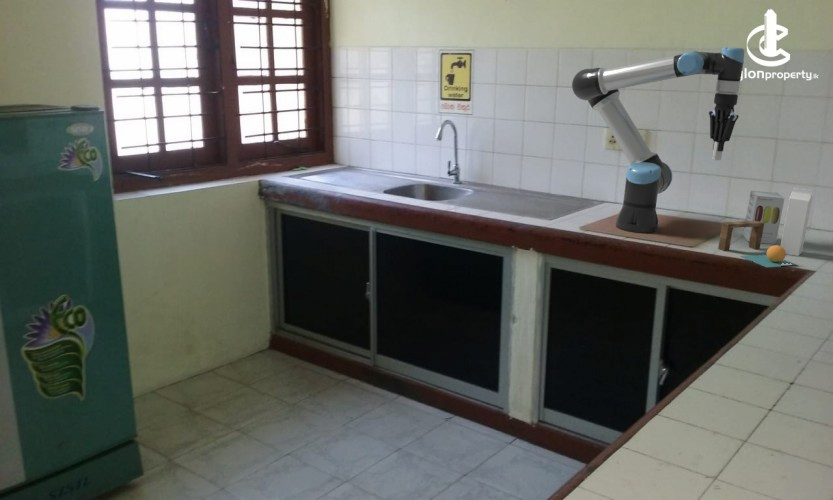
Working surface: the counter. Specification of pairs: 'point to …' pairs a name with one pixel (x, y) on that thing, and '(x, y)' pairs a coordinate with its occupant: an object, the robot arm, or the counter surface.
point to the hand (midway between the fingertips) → (716, 159)
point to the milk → (796, 221)
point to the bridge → (728, 227)
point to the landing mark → (765, 261)
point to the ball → (776, 253)
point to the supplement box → (764, 214)
